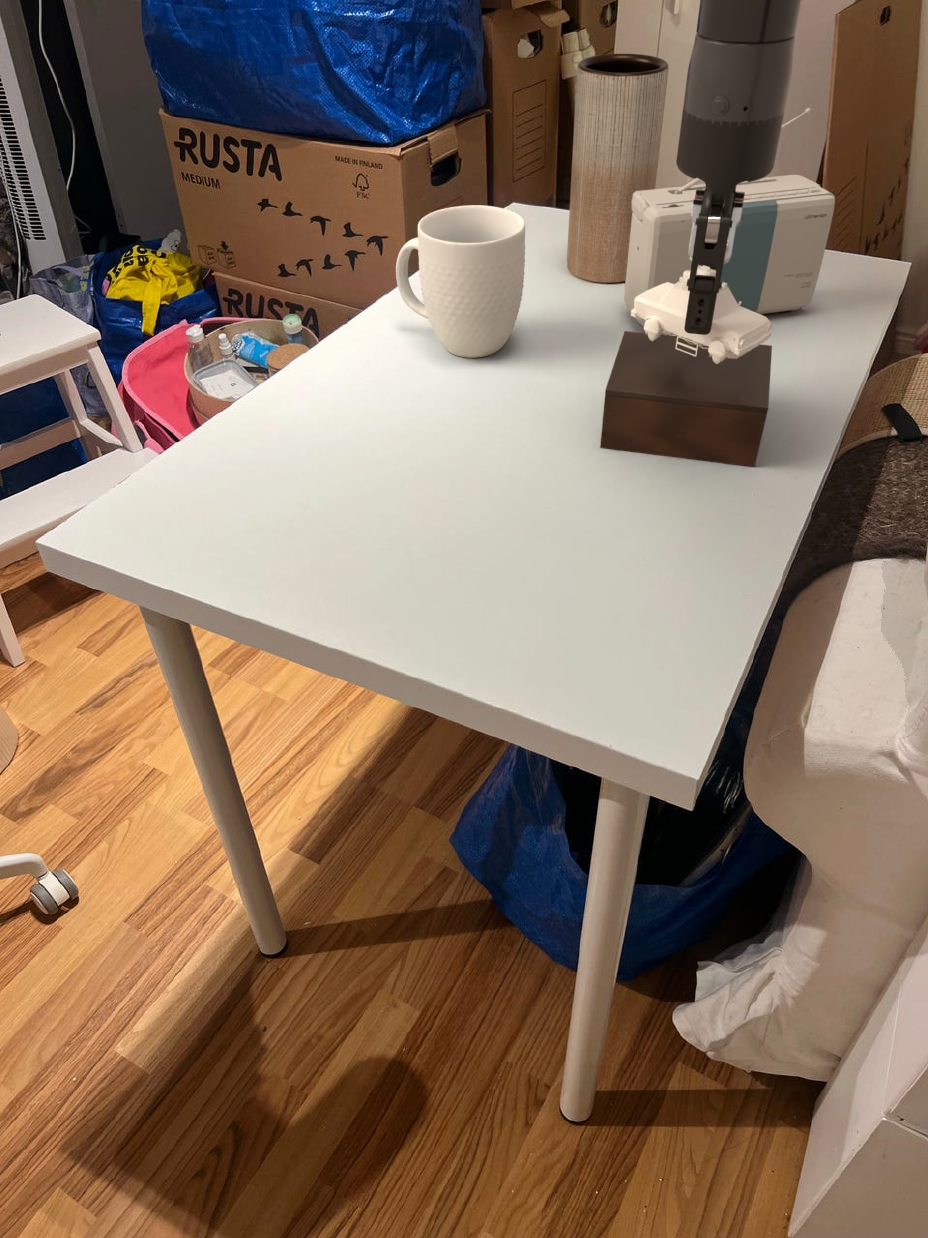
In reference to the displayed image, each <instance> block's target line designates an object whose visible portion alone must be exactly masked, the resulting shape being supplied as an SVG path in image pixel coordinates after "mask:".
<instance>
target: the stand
mask: <svg viewBox="0 0 928 1238" xmlns="http://www.w3.org/2000/svg"><path fill="white" fill-rule="evenodd" d="M622 334H623V335H622V338H621V341H620V344H619V347H618V350H617V353H616V357H615V360H614V362H613V365H612V369H611V372H610V375H609V378H608V381H607V384H606V387H605V392H604V400H603V401H604V403H603V413H602V424H601V434H600V444H599V447H600V448H601V449H602V448H603V449H611V450H617V451H627V452H634V453H642V454H651V455H657V456H666V457H672V458H673V457H674V458H683V459H691V460H697V461H705V462H712V463H713V462H714V463H720V464H722V463H723V464H728V465H729V464H730V465H737V466H745V467H753V468H754V467H756V463H757V459H758V455H759V452H760V451H759V450H760V447H761V442H762V437H763V433H764V428H765V423H766V419H767V415H768V411H769V404H770V401H769V400H770V386H771V369H772V353H773V346H772V345H771V344H762V343H761V344H760V345H758V346H757V347H755V348H753V349H752V350H751V351H749V352H747V353H746V354H744V355H742V356H741V357H739V358H737V359H733V358H727V357H726V358H725V359H724V360H723V361H721V362H720V363H718V364H716V363H715V362H713V359H712V356H711V357H710V354H709V352H708V349H703V348H701V347H700V346H698V349H697V355H696V356H693V355H690V354H688V353H691V354H694V355H695V354H696V351H695V350H693V349H690V348H687V347H685V346H682V345H679V344H677V348H678V349H681V350H683V351H686V352H688V353H685V352H682V351H680V350H677V349H675V348H676V341H677V336H678V335H668V334H661V335H660V337H658V338H656V340H654V341H651V340H650V339H649V337H648V334H647V335H646V334H645V332H640V331H639V332H638V331H628V330H624V332H623V333H622ZM685 339H687V338H685ZM688 340H690V339H688ZM691 341H692V340H691ZM678 342H680V343H683V344H685V345H688V346H691V347H693V348H697V344H696V345H695V344H689V343H688V342H690V341H688V342H686V341H685V340H684V339H682V338H679V337H678ZM690 343H692V342H690ZM702 347H707V348H709V346H702Z"/></svg>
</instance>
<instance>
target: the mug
mask: <svg viewBox="0 0 928 1238" xmlns="http://www.w3.org/2000/svg"><path fill="white" fill-rule="evenodd" d="M413 250H417V255H418V271H419V280H420V281H419V282H420V290H421V295H422V299H423V302H422V301H421V300H420V299H419V298H418V297H417V295H416V294H415V293H414V292H413V289H412V287H411V284H410V280H409V272H408V271H409V270H408V268H409V260H410V259H409V258H410V256H411V253H412V251H413ZM525 262H526V221H525V219H524V218H523V217H522V216H521V215H520V214H518V213H517V212H514V211H512V210H509V209H506V208H503V207H498V206H492V205H483V204H482V205H479V204H478V205H477V204H476V205H475V204H474V205H473V204H470V205H468V204H467V205H459V206H450V207H445V208H442V209H437V210H434V211H432V212H430V213H428V214H426V215H424V216H423V217H422V218H420V220H419V221H418V224H417V237H414V238H412V239H409V240H408V241H407V242H405V244H403V246H402V247H401V249H400V250H399V252H398V255H397V259H396V264H395V278H396V285H397V289H398V291H399V294H400V296H401V299H402V300H403V303H404V304H405V305H406V306H407V307H408V308H409V309H411V311H413V312H415V313H416V314H417V315H419V316H421V317H423V318H425V319H427V320H428V322H429V324H430V327H431V329H432V332H433V334H434V336H435V337H436V338H437V340H438V342H439V343H440V345H441V347H443V348H444V350H445V351H447V352H448V353H450V354H452V355H454V356H457V357H460V358H468V359H469V358H470V359H474V358H475V359H476V358H483V357H488V356H491V355H493V354H496V353H497V352H498V351H500V350H501V348H503V347H504V345H505V344H506V342H507V341H508V339H509V337H510V336H511V334H512V332H513V330H514V327H515V325H516V322H517V319H518V316H519V312H520V308H521V303H522V299H523V291H524V290H523V289H524V287H525V286H524V282H525V281H524V279H525V268H526V267H525V266H526V263H525Z"/></svg>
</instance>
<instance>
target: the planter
mask: <svg viewBox="0 0 928 1238" xmlns="http://www.w3.org/2000/svg"><path fill="white" fill-rule="evenodd" d="M669 67H670V66H669V63H668V62H667V61H666V60H665V59H663V58H661V57H658V56H653V55H649V54H641V53H605V54H598V55H593V56H592V55H591V56H588V57H585V58H582V59H581V60H580V61H579V62H578V63H577V67H576V80H575V83H576V84H575V102H574V119H573V138H572V139H573V140H572V156H571V157H572V160H571V174H570V175H571V176H570V193H569V195H570V196H569V210H568V212H569V214H568V232H567V233H568V234H567V247H566V250H567V251H566V268H567V271H569V273H570V274H571V275H573V276H575V277H576V278H579V279H581V280H583V281H588V282H593V283H601V284H617V283H624V282H626V273H627V263H628V253H629V242H630V232H631V222H632V212H633V211H632V198H633V194H634V193H635V192H636V191H643V190H653V189H656V184H657V175H658V167H659V158H660V149H661V141H662V140H661V139H662V130H663V123H664V114H665V106H666V105H665V104H666V96H667V95H666V94H667V87H668V78H669V69H670V68H669Z"/></svg>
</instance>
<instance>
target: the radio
mask: <svg viewBox="0 0 928 1238" xmlns="http://www.w3.org/2000/svg"><path fill="white" fill-rule="evenodd" d="M811 112H812V110H811V108H810V107H808V108H806V109H804V112H802V113H801V114H799V115H798V116H796V117H794V118H792V119H791V120H789V121H787V122H786V123H784V124H783V123H782V127H781V130H783V129H784V128H786V127H787V126H788V125H790V124H792V123H794V122H795V121H797V119H799V118H801V117H802V116H803V115H808V114H810V113H811ZM701 181H702V180H700V179H698V178H695V179H694V178H693V180H691V181H690V182H688V183H686V184H684V185H683V186H673V187H664V188H662V187H661V188H655V189H653V190H643V191H636V192H635V193H634V194H633V198H632V211H633V212H632V222H631V232H630V242H629V253H628V263H627V273H626V281H625V285H624V293H623V294H624V295H623V300H624V303H625V306H626V308H627V310H628V312H629V313H630V314H631V311H632V310H633V309H634V300H635V298H636V297H637V296H638V295H640V294H642V293H644V292H645V291H647V290H649V289H652V288H654V287H656V286H659V285H661V284H664V283H666V282H669V283H672V284H675V283H677V282H679V278H680V277H683V273H684V271H686V270H689V271H690V270H691V264H692V261H691V260H690V259H689V258H688V250H689V243H690V237H691V231H692V225H693V224H692V223H691V211H692V205H693V200H694V199H695V193H696V189H705V188H706V185H705V183H700V182H701ZM698 183H700V184H698ZM736 191H738V192H745V196H744V203H743V209H742V215H741V220H740V224H739V226H738V227H737V228H736V231H735V237H734V243H733V249H732V254H731V259H730V261H729V262H728V263H726V264H724V265H723V269H722V275H721V281H722V282H724V283H727V286H728V288H729V289H730V291H731V293H732V295H733V296H734V298H735V300H736V302H737V303H739V301H741V302H742V303H741V305H739V306H741V307H744V308H746V309H748V310H751V311H753V312H756V313H758V314H760V315H765V314H771V313H779V312H787V311H790V312H794V311H795V310H800V309H801V308H802V307H803V306H807V305H810V303H811V302H812V300H813V296H814V295H815V294H814V293H815V291H816V286H817V283H818V280H819V275H820V272H821V268H822V263H823V259H824V255H825V251H826V247H827V243H828V239H829V233H830V230H831V225H832V222H833V221H832V220H833V217H834V212H835V211H834V210H835V205H836V198H835V194H833V193H832V192H830V191H829V190H827V189H825V188H823V187H821V184H818V183H817V182H815V181H813V180H811V179H809V178H807V177H805V176H803V175H801V174H800V175H799V174H788V175H777V176H766V177H764V178H762V179H759V180H756V181H752V182H748V181H744V182H741V183H739V184H737V186H736ZM633 319H635V321H636V322H637V323H638V324H639V325H640V326H641V327H642V328H643V329H644V324H645V322H646V320H648V319H649V318H648V319H646V320H645V319H643V318H641V317H639V316H636V317H633Z"/></svg>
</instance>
